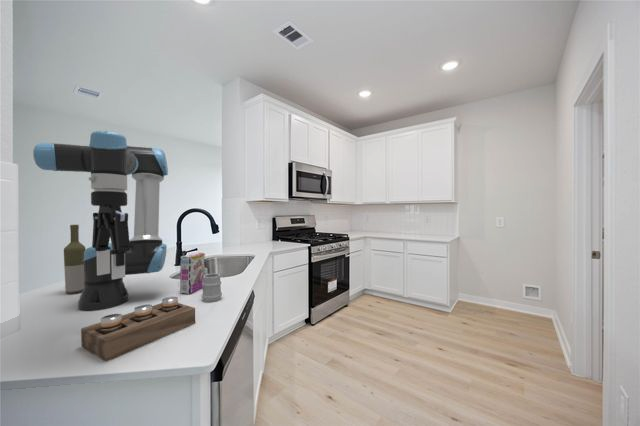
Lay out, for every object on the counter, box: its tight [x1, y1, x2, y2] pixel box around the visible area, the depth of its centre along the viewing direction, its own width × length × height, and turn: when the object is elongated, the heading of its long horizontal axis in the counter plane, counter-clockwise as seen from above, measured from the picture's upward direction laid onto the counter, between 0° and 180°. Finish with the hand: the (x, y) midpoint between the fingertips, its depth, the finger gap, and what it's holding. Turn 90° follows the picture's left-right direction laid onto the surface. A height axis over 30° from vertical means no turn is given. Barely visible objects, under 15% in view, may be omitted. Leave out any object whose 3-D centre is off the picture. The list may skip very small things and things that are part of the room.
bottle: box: [63, 224, 87, 295], centre depth 114 cm, size 7×7×30 cm
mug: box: [201, 267, 223, 303], centre depth 107 cm, size 8×12×12 cm, turn 48°
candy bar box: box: [179, 252, 206, 295], centre depth 117 cm, size 11×5×16 cm, turn 172°
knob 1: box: [99, 313, 123, 335], centre depth 70 cm, size 4×4×5 cm
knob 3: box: [161, 296, 179, 313], centre depth 84 cm, size 4×4×5 cm
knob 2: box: [133, 304, 153, 323], centre depth 77 cm, size 4×4×5 cm
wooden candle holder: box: [80, 302, 196, 362], centre depth 77 cm, size 14×24×5 cm, turn 151°
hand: (110, 276), depth 69 cm, fingers open, 8 cm apart
